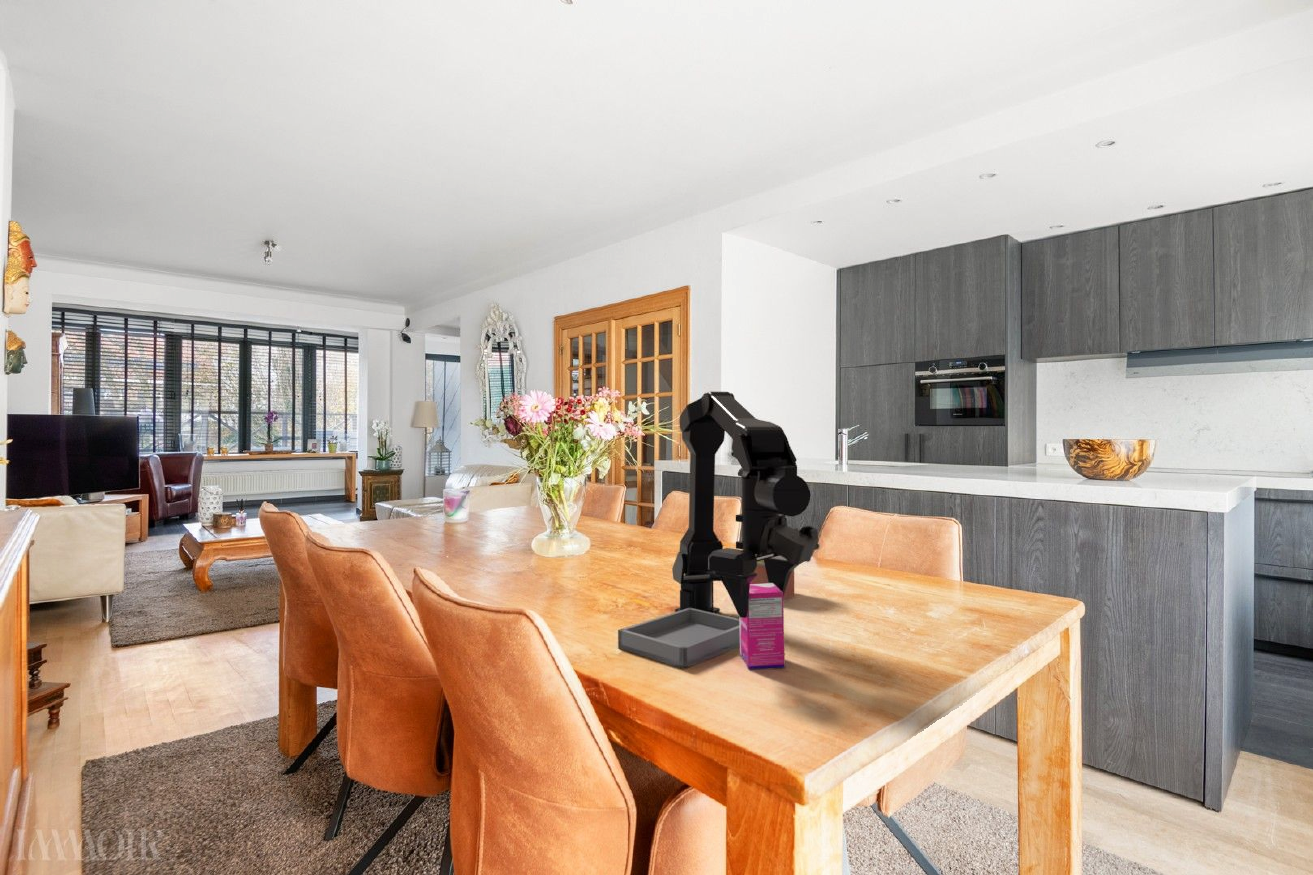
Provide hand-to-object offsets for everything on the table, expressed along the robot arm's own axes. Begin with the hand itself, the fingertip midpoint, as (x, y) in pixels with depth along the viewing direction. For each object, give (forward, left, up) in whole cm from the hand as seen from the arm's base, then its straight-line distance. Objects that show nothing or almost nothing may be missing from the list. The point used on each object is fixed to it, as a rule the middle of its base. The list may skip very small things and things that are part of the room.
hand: (760, 610), depth 100 cm
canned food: (-35, -22, -8) cm, 42 cm away
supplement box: (0, 0, -8) cm, 8 cm away
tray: (+1, -14, -8) cm, 16 cm away
